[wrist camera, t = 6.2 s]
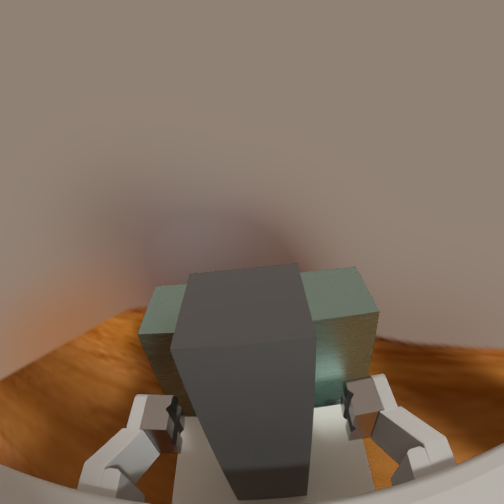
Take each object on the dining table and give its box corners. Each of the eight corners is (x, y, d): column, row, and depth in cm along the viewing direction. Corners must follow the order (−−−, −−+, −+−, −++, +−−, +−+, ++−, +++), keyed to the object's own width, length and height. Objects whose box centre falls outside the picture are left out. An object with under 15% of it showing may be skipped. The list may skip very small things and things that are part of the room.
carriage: (181, 542, 10) (23, 410, 5) (192, 434, 16) (117, 251, 11) (372, 528, 10) (487, 378, 4) (348, 421, 16) (374, 225, 11)
